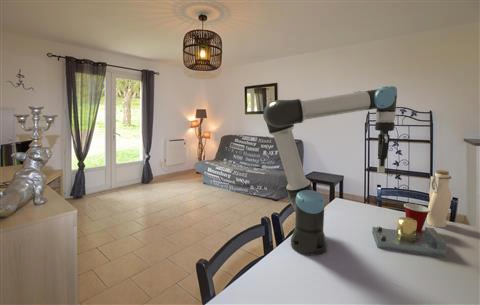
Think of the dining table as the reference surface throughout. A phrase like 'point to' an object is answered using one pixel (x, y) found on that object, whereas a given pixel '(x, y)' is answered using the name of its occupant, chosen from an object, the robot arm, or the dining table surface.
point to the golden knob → (406, 229)
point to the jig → (422, 245)
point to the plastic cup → (417, 214)
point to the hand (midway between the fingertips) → (380, 172)
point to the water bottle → (439, 199)
